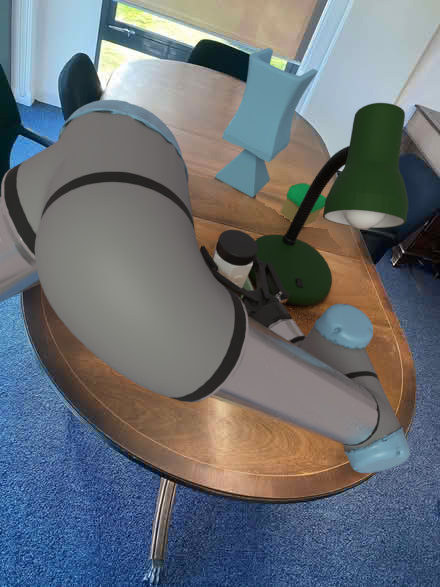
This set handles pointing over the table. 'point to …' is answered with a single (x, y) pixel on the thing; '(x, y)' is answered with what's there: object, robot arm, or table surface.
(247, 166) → the planter
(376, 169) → the desk lamp
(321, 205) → the cake
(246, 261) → the jar
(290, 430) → the table surface
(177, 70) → the table surface
